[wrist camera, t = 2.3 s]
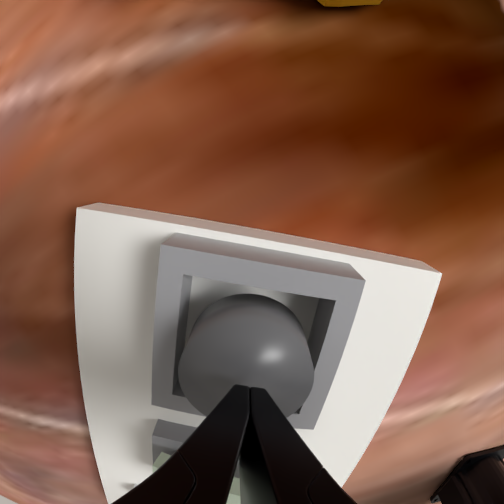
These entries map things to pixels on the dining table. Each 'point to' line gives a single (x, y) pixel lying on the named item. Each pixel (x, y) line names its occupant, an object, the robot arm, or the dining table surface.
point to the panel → (209, 291)
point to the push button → (246, 353)
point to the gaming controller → (348, 2)
